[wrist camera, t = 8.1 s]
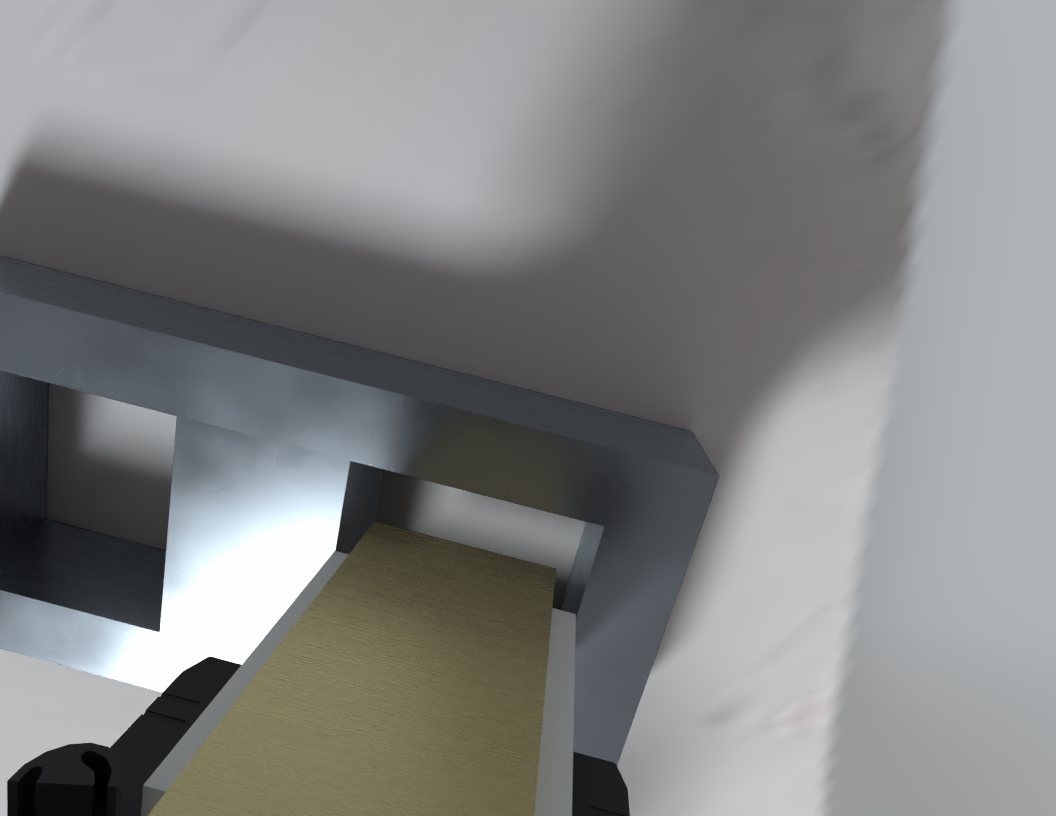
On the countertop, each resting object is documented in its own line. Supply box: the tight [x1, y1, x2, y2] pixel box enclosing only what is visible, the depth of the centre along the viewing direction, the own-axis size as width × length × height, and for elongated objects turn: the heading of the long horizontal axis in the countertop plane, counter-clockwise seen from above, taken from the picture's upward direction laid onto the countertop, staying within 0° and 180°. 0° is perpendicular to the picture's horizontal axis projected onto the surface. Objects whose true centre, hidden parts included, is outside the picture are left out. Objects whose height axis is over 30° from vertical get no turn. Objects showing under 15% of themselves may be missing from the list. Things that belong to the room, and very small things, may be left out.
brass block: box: [148, 521, 556, 816], centre depth 11 cm, size 4×4×8 cm
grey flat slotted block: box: [0, 256, 719, 766], centre depth 17 cm, size 22×10×4 cm, turn 76°
